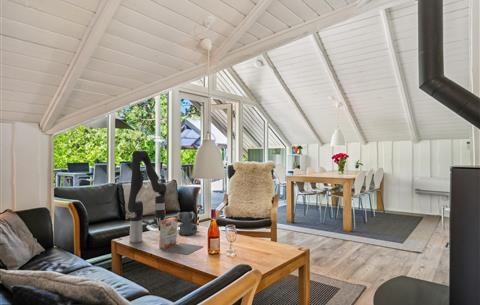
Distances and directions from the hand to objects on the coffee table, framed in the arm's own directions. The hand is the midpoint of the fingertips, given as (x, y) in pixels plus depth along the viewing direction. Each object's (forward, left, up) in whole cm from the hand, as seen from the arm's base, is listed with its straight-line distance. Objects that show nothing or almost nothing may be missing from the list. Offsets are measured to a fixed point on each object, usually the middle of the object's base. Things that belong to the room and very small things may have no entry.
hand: (160, 230), depth 238 cm
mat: (+22, 0, -11) cm, 25 cm away
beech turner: (0, +10, -11) cm, 15 cm away
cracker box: (+7, 0, -11) cm, 13 cm away
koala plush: (-3, +37, -11) cm, 39 cm away
